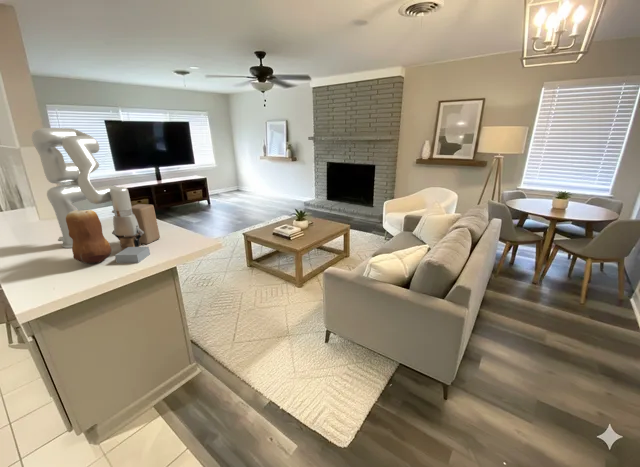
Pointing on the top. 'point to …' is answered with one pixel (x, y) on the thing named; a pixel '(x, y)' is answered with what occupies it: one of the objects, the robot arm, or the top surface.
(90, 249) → the butternut squash
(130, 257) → the pedestal
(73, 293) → the top surface
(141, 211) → the block
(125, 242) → the walnut cube
